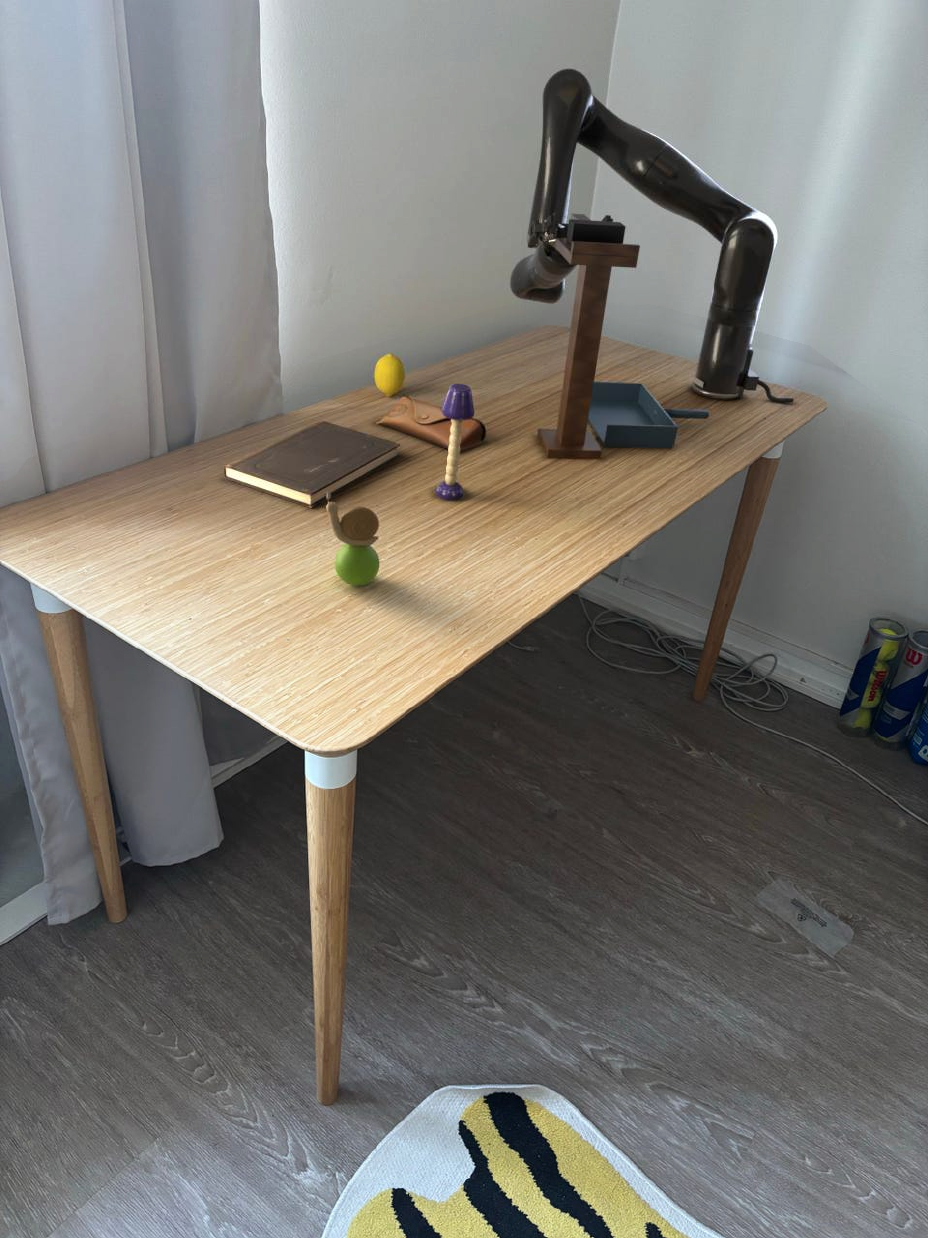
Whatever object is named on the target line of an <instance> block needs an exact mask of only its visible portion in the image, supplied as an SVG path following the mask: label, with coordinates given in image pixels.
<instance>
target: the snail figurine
mask: <svg viewBox="0 0 928 1238" xmlns="http://www.w3.org/2000/svg"><path fill="white" fill-rule="evenodd" d="M326 498H327V504H326V506H325V508H326V512H327V514H328V518H329V519H328V520H329V523H330V526H331V530H332V532H333V533H334V535H335V537H336V538H337V539H338V540H339V541H340V542H342V543H344V545H343V546H341V547H340V548H339V549H338V551H337V553H336V555H335V557H334V568H335V571H336V575H337V576H338V578H339V579H341V581H343V582H344V583H346V584H347V585H350V586H355V587H359V586H360V587H361V586H364V585H367V584H369V583H370V582H372V581H373V580H374V579H375V578H376V576H377V575H378V574H379V570H380V557H379V555H378V552H377V551H376V550H375V548H374V547H372V545H373V544H375V543H376V542H378V540H379V536H378V535H376V534H377V532H378V531H379V528H380V522H379V517H378V516H377V514H376V513H375V512H374V511H373V510H372V509H370V508H368V507H366V506H354V507H351V508H349V509H348V510H346V511H345V512H344V513H343V515H342V516H341V519H340V518H339V517H340V516H339V514H338V511H339V505H338V504H337V502H334V501H329V500H331V498H332V497H331V493H329V492H328V493H327V496H326Z"/></svg>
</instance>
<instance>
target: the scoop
mask: <svg viewBox="0 0 928 1238" xmlns="http://www.w3.org/2000/svg"><path fill="white" fill-rule="evenodd" d="M710 414H711V413H710V411H709V410H707V409H691V408H690V409H689V408H688V409H685V408H684V409H683V408H664V407H663V406H662V405H661V404H660V403H659V401H658V400H657V399H656V398H655V396H654V395H653V394H652V393H651V392H650V391H649V389H648V388H647V387H646V386H645V384H643V382H617V381H594V385H593V391H592V398H591V404H590V410H589V417H588V423H589V425H590V426H591V428H592V430H593V431H594V433H595V434H596V436H597V437H598V439H599V441H600V443H601V444H602V446H603V447H604V448H605V447H607V448H608V447H609V448H650V449H653V448H654V449H672V447H675V444H676V440H677V435H678V430H679V426H678V425H677V423H676V422H675V421H674V420H673V419H690V420H691V419H693V420H694V419H695V420H696V419H697V420H698V419H699V420H706V419H709V417H710Z"/></svg>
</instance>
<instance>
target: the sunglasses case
mask: <svg viewBox="0 0 928 1238" xmlns="http://www.w3.org/2000/svg"><path fill="white" fill-rule="evenodd" d="M441 410H442V406H438V405H436V404H431V403H429V402H425V401H423V400H420V399H417V398H414V397H413V396H410V395H409V394H406V393H404V394H402V397H401V398H400V399H399V400H398V401H397V402H396V403H395V404H394V406H392V407H391V408H390V410H389V411H388V412H387V413H386V414H385V415H384V416H383V417H382V419H381V420H380V421H376V424H377V425H380V426H383V427H387V428H390V429H393V430H395V431H398V432H400V433H403V434H406V435H408V436H410V437H413V438H416V439H419V440H421V441H423V442H426V443H428V444H431V445H434V446H437V447H440V448H443V449H447V450H448V448H449V445H450V442H449V439H450V435H451V432H450V428H451V425H452V422H451V419H450V418H447V417H445V416H444V415H443V414H442V412H441ZM486 436H487V428H486V425H485V424H484V423H483V422H482V421H481V420H479V419H477V418H475V417H472V418H471V419H468V420H463V423H462V433H461V443H460V452H462V451H467V450H471V449H472V448H475V447H477V446H480V445H482V444H483V442H484V441H485V439H486Z"/></svg>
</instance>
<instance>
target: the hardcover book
mask: <svg viewBox="0 0 928 1238" xmlns="http://www.w3.org/2000/svg"><path fill="white" fill-rule="evenodd" d="M400 447H401V443H398V442H395V441H392V440H389V439H387V438H386V439H385V438H382V437H379V436H376V435H372V434H369V433H365V432H362V431H358V430H355V429H353V428H348V427H345V426H342V425H339V424H334V423H332V422H328V421H325V420H322V419H321V420H318V421H316V422H315V423H313V424H310V425H308V426H306V427H304V428H302V429H300V430H297V431H296V432H293V433H291V434H289V435H287V436H285V437H283V438H280V439H277V440H276V441H274V442H273V443H270V444H268V445H266V446H264V447H262V448H260V449H257V450H256V451H253V452H251V453H249V454H247V455H244V456H243V457H240V458H238V459H236V460H234V461H232V462H229V463H227V464H225V465H224V466H223V475H224V477H225V478H226V480H228V481H231V482H234V483H236V484H239V485H242V486H245V487H247V488H251V489H253V490H256V491H260V492H262V493H266V494H268V495H272V496H274V497H277V498H280V499H282V500H286V501H289V502H292V503H295V504H297V505H300V506H303V507H307V508H310V509H313V508H315V507H316V506H318V505H320V504H321V503H323V502H325V501H326V500H327V501H328V499H327V498H326V496H327V493H328V492H329V493H331V498H332V497H334V496H335V495H337V494H339V493H341V492H342V491H344V490H346V489H347V488H349V487H351V486H353V485H354V484H356V483H358V482H360V481H361V480H362V479H364V478H366V477H368V476H370V475H372V474H373V473H375V472H376V471H378V470H380V469H382V468H384V467H385V466H387V465H388V464H390V463H392V462H393V461H395V460H397V459H399V458H400V457H401V455H400V454H398V451H399V450H398V448H400Z"/></svg>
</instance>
